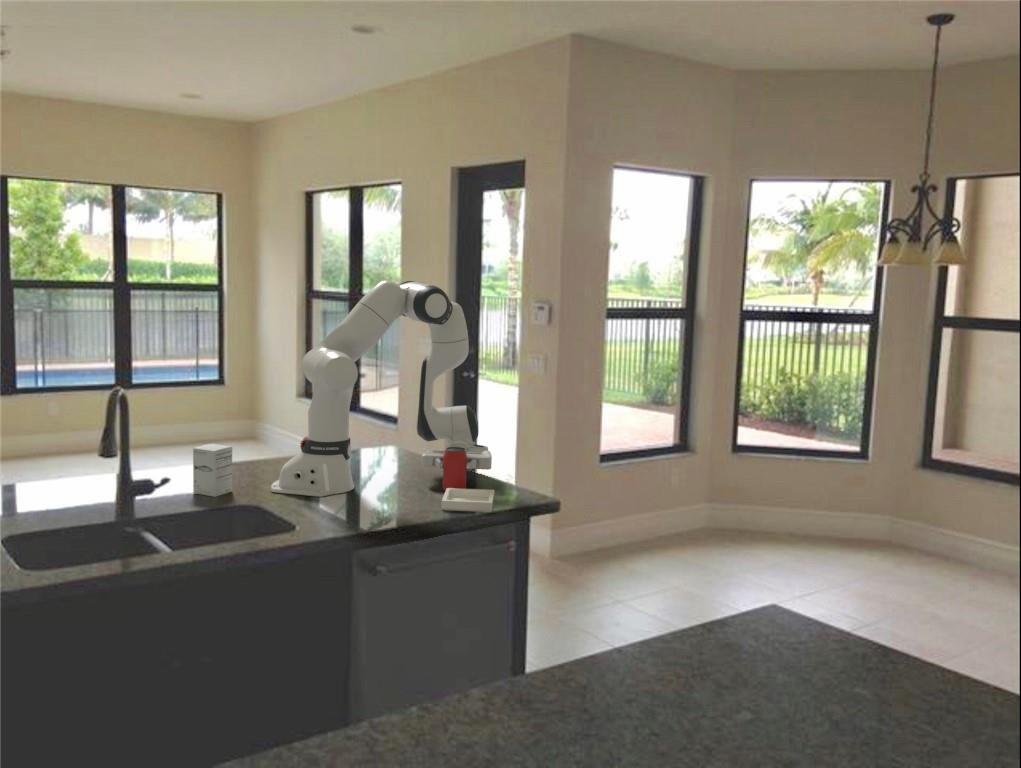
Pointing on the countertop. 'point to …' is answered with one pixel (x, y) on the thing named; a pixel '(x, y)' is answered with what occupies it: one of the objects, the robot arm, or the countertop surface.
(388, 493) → the countertop surface
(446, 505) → the tray
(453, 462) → the beer can
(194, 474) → the supplement box
